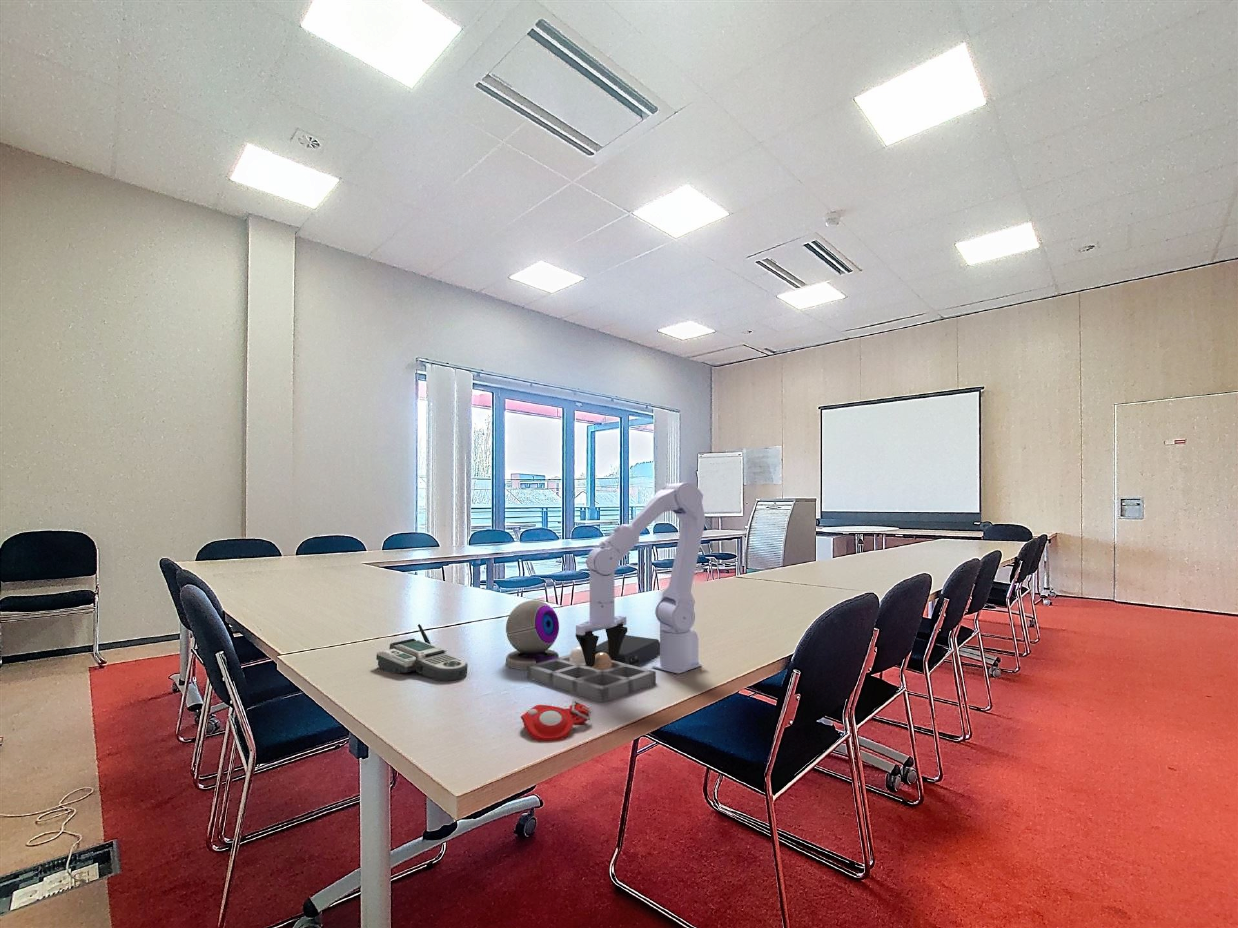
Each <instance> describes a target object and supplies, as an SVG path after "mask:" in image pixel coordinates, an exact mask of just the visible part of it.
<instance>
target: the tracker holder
mask: <svg viewBox="0 0 1238 928" xmlns="http://www.w3.org/2000/svg"><path fill="white" fill-rule="evenodd" d="M591 714H592V709H591V707H589V706H587V705H584V704H583V703H581V702H579V701H578V700H576V699H572V702H571V705H569V708H563V707H560V706H556V705H555V706H553V705H550V704H549V705H548V704H547V705H546V704H536V705H534V706H532V707H531V708H530V709H528V710H527V711H526V712H524V713H523V714H522V715H521V716H520V719H521V721H522V722H523V727H524V729H525V730H526V732H527V734H528V735H529V736H530V737H531V738H532V739H533V740H534V741H538V742H555V741H561V740H562V739H565V738H567V737H568V736H569V735H570V734H571V732H572V730H573V727H574V726H576V725H577V726H579V725H583V724H585V723H586V722H587V721H591Z"/></svg>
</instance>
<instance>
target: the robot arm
mask: <svg viewBox="0 0 1238 928" xmlns="http://www.w3.org/2000/svg"><path fill="white" fill-rule="evenodd" d="M703 497H704V494H703V493H702V492H701V490H700V489H699V487H698V486H697V485H696V484H695V483H693V482H692V481H686V482H676V483H675V482H670V483H667V484H665V485H664V486H663V487H662V489H659V490H658V491H657V492H656V493H655V495H654V496H653V497H652V498H651V499H650V500H649V501H648V503H647V504H646V505H645V506H644V507H643V508H642V509H641V510H640V512H639V513H638V514H636V516H635V517H634V518H633V519H632V520H631V521H630V522H629V524H627V523H624V524H620V525H616V526H615V527H613V528H612V530H613V532H612V533H611V534H610V535H609V536H608V537H607V538H606V539H605V540H604V541H603V540H602V541H601V542H599V544H598V545H599V547H597V548H593V549H592V550H590V552H589V553H588V555H587V556H588V557H587V558H586V559H585V564H586V565H585V566H586V567H587V568H588V570H589V620H586V621H585V622H582V623H579V624H577V625H575V638H576V640H577V641H578V644H579V647H581V649H582V652H583V655H584V659H585V663H586V665H587V666H591V667H593V666H594V664H595V652H596V646H597V645H598V641H599V638H600V636H599V635H596V634H594V633H593V632H598V631H603V630H605V634H606V637H607V639H606V640H608V651H609V656H610V658H611V659H615V660H616V659H618V655H619V651H620V647H621V644H622V641H623V639H624V637H625V635H627V633H628V627H627V626H626V625H627V616H625V615H624V616H623V615H617V616H615V614H616V613H615V609H616V608H615V607H616V606H615V582H616V581H615V572H616V571H617V570H618V568H619V565H620V561H622V559H624V557H625V556H626V555H628V554H629V552H630V551H631V550H632V549H633V548H634V547H635V546H636V545H637V544H638V543H639V542H640V534H641V533H642V532H643V531H644V530H645V529H646V528H648V526H650V525H651V524H652V523H653V522H655V520H656V519H658V518H659V516H661V515H662V514H664V513H666V512H672V513H674V514H675V515H676V517H677V518H678V520H679V521H680V522H681V523H680V524H681V527H680V532H679V537H678V541H677V546H676V550H675V554H674V560H673V563H672V564H673V565H672V568H671V574H670V578H669V582H668V583H669V584H668V587H666V589H664V591H663V592H662V594H661V598H660V600H659V602H658V603H657V604H656V606H655V612H654V614H655V617H656V620H657V621H658V622H659V642H660V654H659V662H657V663H655V664H653V665H652V668H654V669H658V670H661V671H662V670H663V671H666V672H670V673H673V674H674V673H675V674H683V673H684V672H688V671H689V670H693V669H695V668H698V667H701V666H702V665H703V663H701V662H700V661H699V637H698V636H699V635H698V634H697V632H696V630H695V629H694V628H692V627H693V625H694V624H695V621H696V612H695V603H696V602H695V598H694V597H693V594H692V587H693V582H694V577H695V572H696V568H697V563H698V558H699V553H700V552H699V551H700V548H701V543H702V538H703V534H704V529H705V524H706V515H705V512H704V511H705V510H704V507H703V499H704V498H703Z"/></svg>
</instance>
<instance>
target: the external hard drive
mask: <svg viewBox="0 0 1238 928" xmlns="http://www.w3.org/2000/svg"><path fill="white" fill-rule="evenodd" d="M600 652H604V653H607V654H608V655H609V651H608V639H606V640H605V641H602V642H600V643H599V644H598V643H597V646H596V652H595V655H596V654H597V653H600ZM657 656H660V639H658V638H652V637H651V638H649V637H642V636H636V635H628V634H626V635H625V637H624V639H623V641H622V644H621V647H620V651H619V655H618V659H616V660H615V659H611V660H613V661H617V662H621V663H625V664H629V665H632V666H636V667H640V666H641V665H643V664H646V663H647V662H649V661H651V660H653V659H654V658H656V657H657Z"/></svg>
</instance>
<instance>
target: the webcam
mask: <svg viewBox="0 0 1238 928" xmlns="http://www.w3.org/2000/svg"><path fill="white" fill-rule="evenodd" d="M505 633H506V637H507V640H508V642H509V644H510V646H512V647H513V649H514V651H511V652H510V653H507V655H506V657H505V665H506V666H508V667H509V668H511V669H512V668H513V669H515V670H516V669H517V670H526V671H527V666H529V665H533V664H537V663H540V662H544V661H548V660H552V659H555V658H559V657H560V655H559V653H558V652H557V651H555V650H553V649H550V648H552V646H553V645H554V643H555V642H556V640H557V638H558V636H559V633H560V621H559V617H558V615H557V612H556V611H555V610H554V609H553V608H552V607H551V606H550V605H549V604H548V603H546V602H543V601H541V600H535V599H533V600H526V601H524V602H521V603H519V604H518V605H516V607H514V608H513V610H512V611H511V612H510V614H509V615H508V617H507V620H506V624H505Z"/></svg>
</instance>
